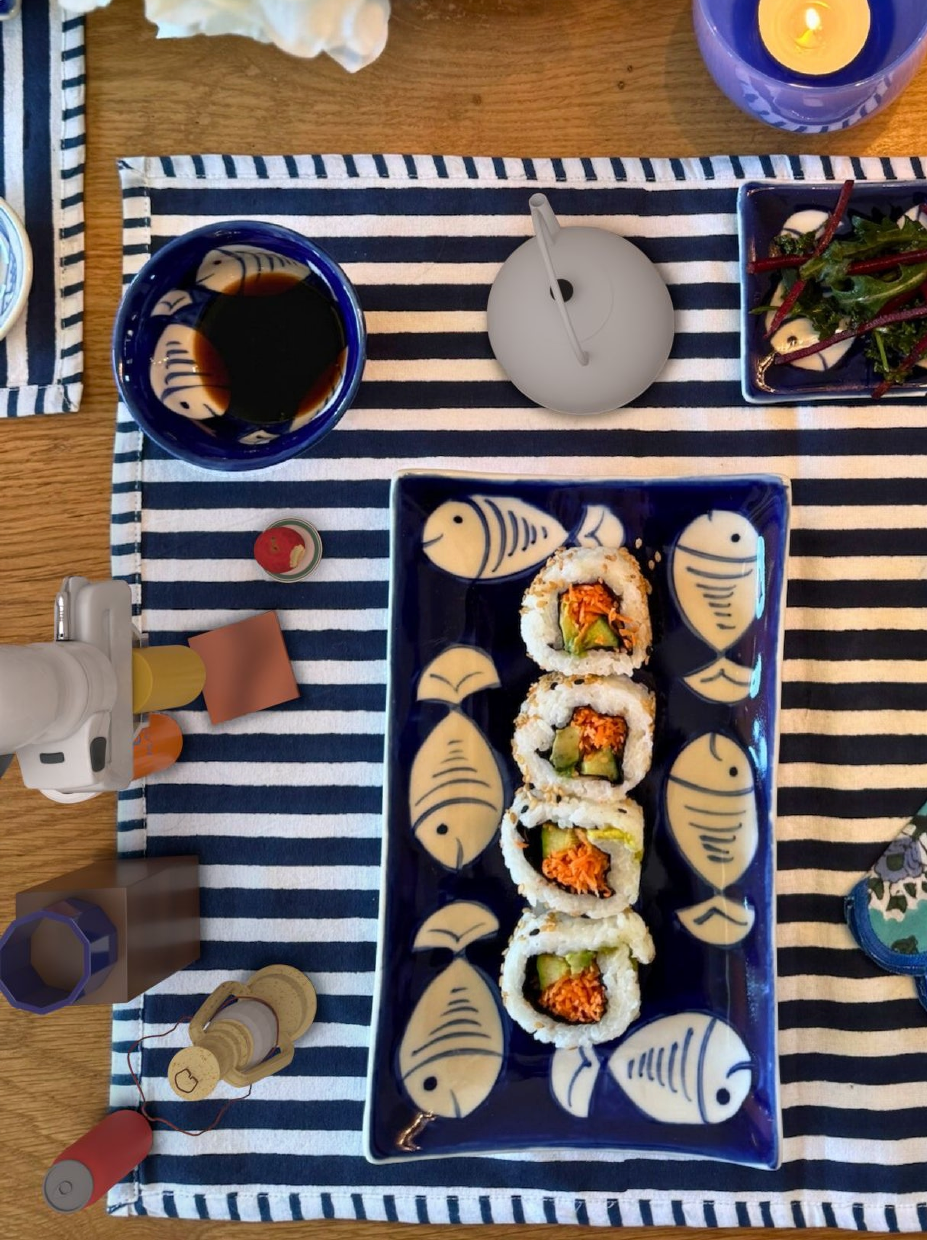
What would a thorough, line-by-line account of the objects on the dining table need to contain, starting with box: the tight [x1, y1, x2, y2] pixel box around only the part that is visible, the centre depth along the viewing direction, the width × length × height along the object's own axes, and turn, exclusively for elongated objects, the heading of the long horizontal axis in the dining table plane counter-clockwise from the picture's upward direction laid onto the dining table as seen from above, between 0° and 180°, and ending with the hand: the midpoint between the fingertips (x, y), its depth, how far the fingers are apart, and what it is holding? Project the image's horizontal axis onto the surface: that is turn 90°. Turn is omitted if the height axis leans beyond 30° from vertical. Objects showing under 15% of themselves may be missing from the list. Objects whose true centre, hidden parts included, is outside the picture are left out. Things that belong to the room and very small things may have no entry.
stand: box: [14, 854, 201, 1010], centre depth 131 cm, size 12×12×16 cm
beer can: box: [41, 1109, 153, 1215], centre depth 131 cm, size 7×7×12 cm
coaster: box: [187, 610, 301, 726], centre depth 142 cm, size 11×11×1 cm
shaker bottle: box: [38, 712, 184, 804], centre depth 131 cm, size 9×9×20 cm
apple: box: [253, 516, 323, 583], centre depth 140 cm, size 8×8×6 cm
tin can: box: [132, 644, 206, 715], centre depth 119 cm, size 7×7×11 cm
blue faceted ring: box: [0, 898, 117, 1016], centre depth 121 cm, size 10×10×5 cm
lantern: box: [126, 963, 318, 1137], centre depth 123 cm, size 12×10×30 cm
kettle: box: [486, 192, 676, 416], centre depth 134 cm, size 25×23×23 cm
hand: (142, 680), depth 118 cm, fingers closed on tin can, 6 cm apart
